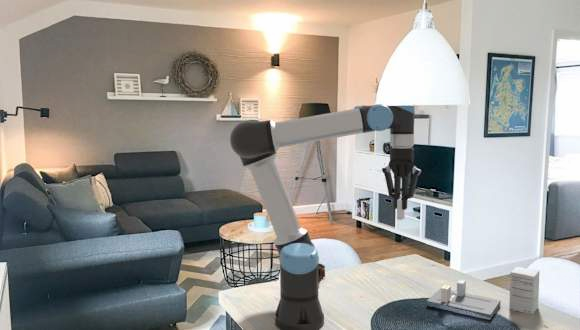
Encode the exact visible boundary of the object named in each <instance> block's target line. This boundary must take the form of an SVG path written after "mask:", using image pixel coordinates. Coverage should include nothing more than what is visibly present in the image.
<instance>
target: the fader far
mask: <svg viewBox="0 0 580 330" xmlns="http://www.w3.org/2000/svg"><path fill="white" fill-rule="evenodd" d="M466 284H467V280H462V279H459V280H458V281H456V291H457V296H461V297H463V296H464V295H465V293H466V292H467V291H466V290H467V289H466V288H467V285H466Z"/></svg>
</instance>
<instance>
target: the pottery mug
mask: <svg viewBox="0 0 580 330" xmlns="http://www.w3.org/2000/svg"><path fill="white" fill-rule="evenodd" d="M323 277H324V278H325V277H326V266H325V265H324V264H322V263H320V262H319V263H318V283H319V282H321V281H322V279H324V278H323Z"/></svg>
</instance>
